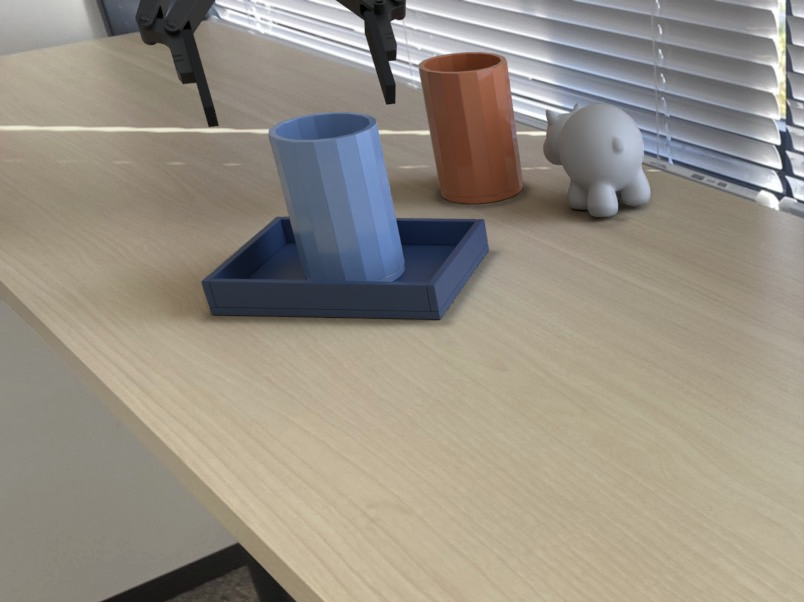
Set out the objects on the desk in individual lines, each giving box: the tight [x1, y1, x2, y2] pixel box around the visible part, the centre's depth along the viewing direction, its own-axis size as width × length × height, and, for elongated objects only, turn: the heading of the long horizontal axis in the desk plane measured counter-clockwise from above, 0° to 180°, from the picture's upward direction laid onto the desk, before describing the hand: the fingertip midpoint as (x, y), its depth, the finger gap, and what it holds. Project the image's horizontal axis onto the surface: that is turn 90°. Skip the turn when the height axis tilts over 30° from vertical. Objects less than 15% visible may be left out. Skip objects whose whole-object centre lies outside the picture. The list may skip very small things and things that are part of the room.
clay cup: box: [417, 51, 524, 205], centre depth 102 cm, size 7×7×11 cm
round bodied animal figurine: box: [542, 102, 651, 218], centre depth 100 cm, size 7×12×8 cm, turn 39°
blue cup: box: [267, 111, 406, 282], centre depth 85 cm, size 7×7×11 cm
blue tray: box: [200, 216, 490, 320], centre depth 88 cm, size 17×13×3 cm
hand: (303, 106), depth 91 cm, fingers open, 13 cm apart
